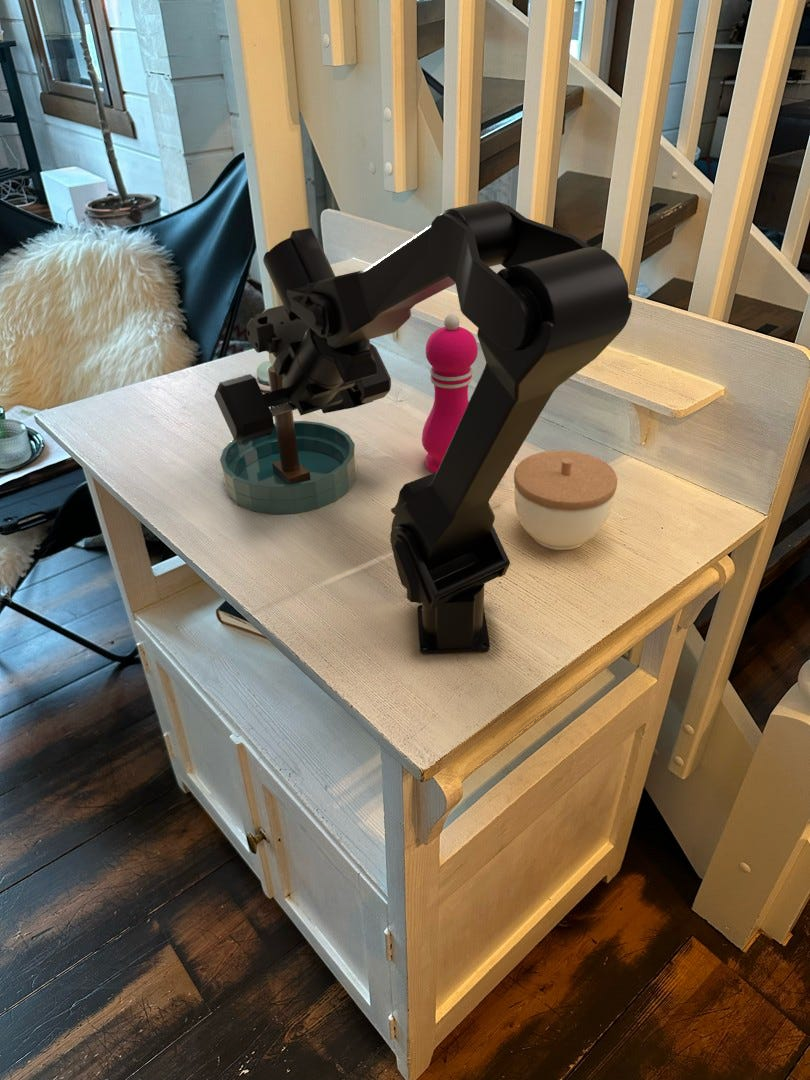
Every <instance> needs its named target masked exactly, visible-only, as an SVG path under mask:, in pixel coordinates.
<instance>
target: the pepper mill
mask: <svg viewBox="0 0 810 1080" xmlns="http://www.w3.org/2000/svg"><path fill="white" fill-rule="evenodd" d="M460 322H461V321H460V318H459V316H458V315H456V314H454V313H451V314H448V315H446V316H445V318H444V320H443V325H444V326H442V327H440V328H437V329H436V330H434V331H433V332H432V333H431V334H430V335H429V337H428V338H427V341H426V345H425V357H426V360H427V362H428V363H429V365H430V366H431V368H430V370H429V373H430V377H429V380H430V382H431V384H433V388H434V401H433V404H432V407H431V410H430V412H429V415H428V416H427V418H426V420H425V422H424V425H423V428H422V433H421V445H422V447H423V449H424V450H425V452H426V453H427V454H426V456H425V466H426V468H427V470H428V472H430V473H431V474H433V473H435V472H437V470H438V468H439V466H440V464H441V462H442V460H443V457H444V455H445V453H446V451H447V449H448V447H449V444H450V442H451V440H452V438H453V436H454V433H455V431H456V429H457V427H458V425H459V423H460V420H461V418H462V416H463V414H464V412H465V410H466V407H467V405H468V403H469V394H468V393H469V385H470V384H472V382H473V380H474V379H473V378H474V377H473V373H474V369H473V367H472V365H473V364H474V363H475V361H476V360H477V357H478V352H479V350H478V348H479V347H478V343H477V339H476V338H475V336H474V335H473V333H472V332H471V331H470V330H469V329H467V328H465V327H463V326H460Z"/></svg>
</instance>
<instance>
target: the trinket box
mask: <svg viewBox="0 0 810 1080" xmlns="http://www.w3.org/2000/svg"><path fill="white" fill-rule="evenodd" d="M513 484H514V487H513V489H514V492H513V493H514V494H513V495H514V507H515V511H516V515H517V518H518V521H519V523H520V524H521V526H522V528H523V529H524V531H525V532H527V534H528V535H529V536H531V537H532V539H533V540H534V541H535V543H537V544H538V545H540V546H542V547H544V548H547V549H551V550H554V551H571V550H574V549H577V548H579V547H581V546H583V545H584V544H585V543H587V542H588V541H590V540H591V539H593V538H595V536H596V535H598V534H599V532H600V531H601V530H602V529H603V527H604V526H605V524H606V523H607V521H608V519H609V516H610V514H611V510H612V508H613V504H614V499H615V494H616V491H617V488H618V477H617V473H616V471H615V470H614V469H613V468H612V466H611V465H610V464H608V463H607V462H605V461H604V460H602V459H601V458H599V457H597V456H594V455H591V454H589V453H585V452H581V451H575V450H567V449H564V450H563V449H555V450H545V451H541V452H536V453H534V454H531V455H528V456H527V457H525V458H523V459H522V460H521V461H520V462H519V463H518V464H517V465H516V466H515V468H514V472H513Z"/></svg>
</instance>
